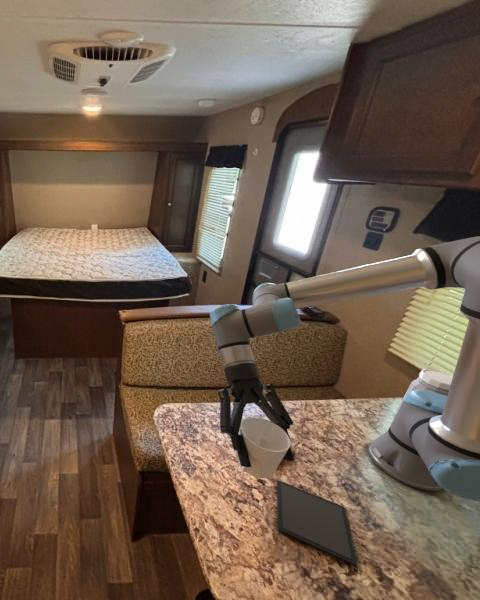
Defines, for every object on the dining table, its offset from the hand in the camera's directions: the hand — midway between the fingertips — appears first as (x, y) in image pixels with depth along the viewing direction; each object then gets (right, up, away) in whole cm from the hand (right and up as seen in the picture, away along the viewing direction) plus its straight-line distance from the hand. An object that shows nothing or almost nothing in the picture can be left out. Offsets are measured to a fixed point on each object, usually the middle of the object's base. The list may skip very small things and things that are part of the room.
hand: (267, 463), depth 71 cm
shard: (+15, -7, +19) cm, 25 cm away
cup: (-1, -3, +4) cm, 5 cm away
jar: (+67, -3, +32) cm, 75 cm away
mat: (+12, -14, +2) cm, 19 cm away
